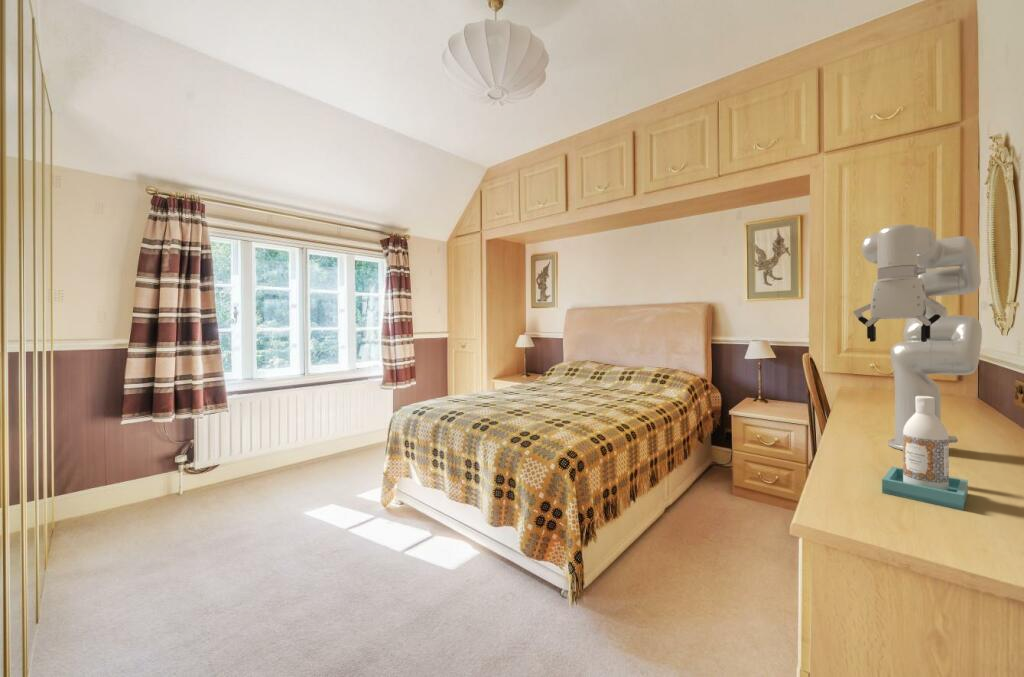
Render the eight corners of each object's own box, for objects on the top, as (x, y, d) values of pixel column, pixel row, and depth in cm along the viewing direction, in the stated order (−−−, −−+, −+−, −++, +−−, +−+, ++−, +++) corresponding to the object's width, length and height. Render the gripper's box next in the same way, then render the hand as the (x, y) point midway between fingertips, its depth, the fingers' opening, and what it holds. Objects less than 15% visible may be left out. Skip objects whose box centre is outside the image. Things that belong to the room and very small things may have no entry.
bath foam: (895, 484, 91) (894, 395, 91) (916, 480, 93) (915, 393, 92) (935, 497, 84) (934, 400, 84) (956, 492, 86) (956, 398, 86)
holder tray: (892, 478, 97) (892, 466, 97) (967, 493, 88) (967, 480, 88) (882, 492, 89) (882, 479, 89) (963, 510, 80) (963, 495, 80)
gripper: (947, 271, 100) (948, 341, 101) (857, 279, 114) (857, 340, 114) (944, 269, 95) (945, 342, 96) (850, 277, 109) (851, 342, 109)
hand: (897, 341), depth 105 cm, fingers open, 9 cm apart
